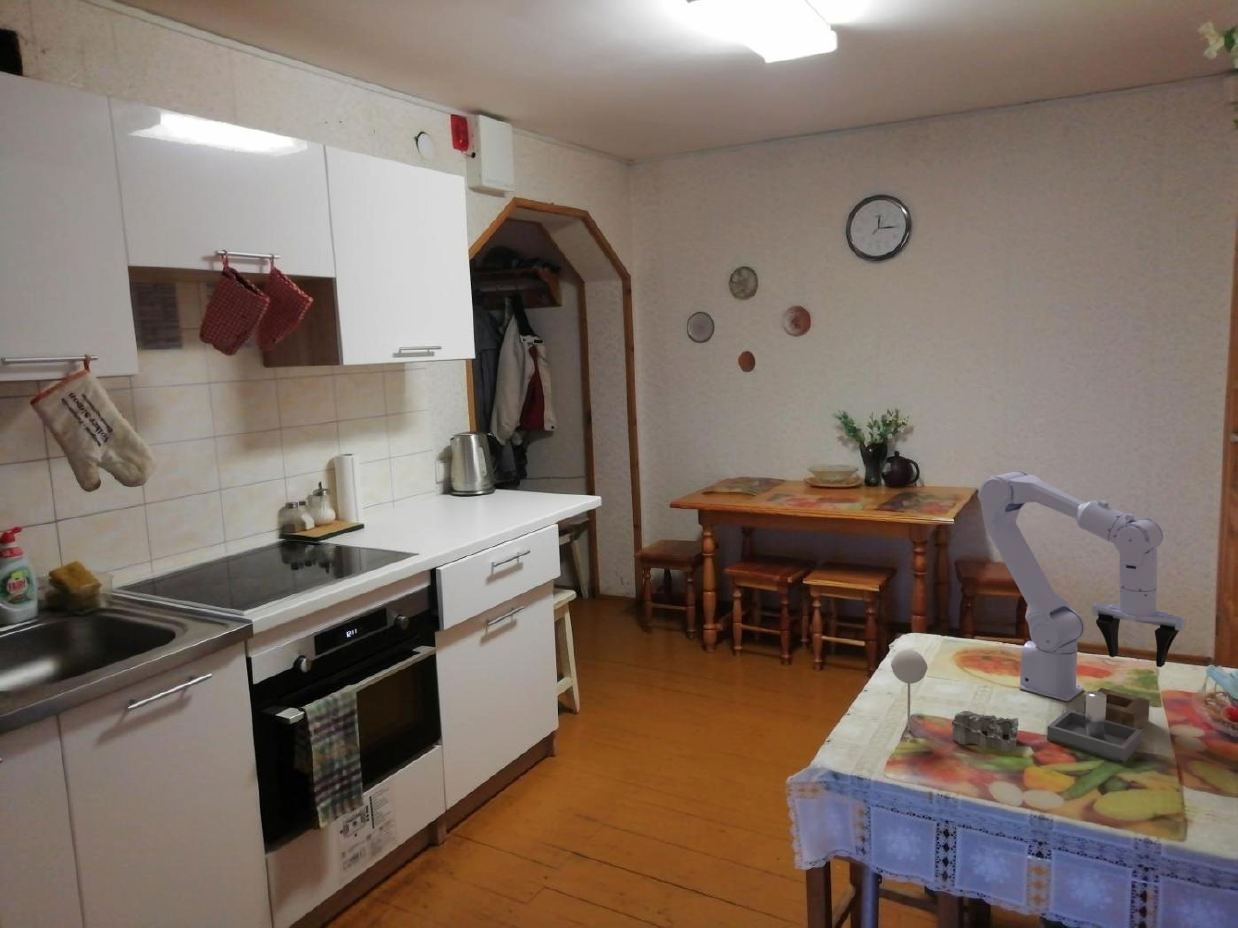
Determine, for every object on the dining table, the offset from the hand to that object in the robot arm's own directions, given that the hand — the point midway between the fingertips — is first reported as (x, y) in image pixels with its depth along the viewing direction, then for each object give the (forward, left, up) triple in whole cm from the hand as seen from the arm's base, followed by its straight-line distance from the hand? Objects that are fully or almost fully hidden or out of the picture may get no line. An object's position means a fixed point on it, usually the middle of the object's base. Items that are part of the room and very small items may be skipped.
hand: (1136, 660), depth 154 cm
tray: (-1, -15, -10) cm, 19 cm away
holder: (-1, -5, -10) cm, 12 cm away
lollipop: (-26, -32, -11) cm, 43 cm away
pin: (-1, -15, -10) cm, 18 cm away
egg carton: (-15, -27, -11) cm, 33 cm away
